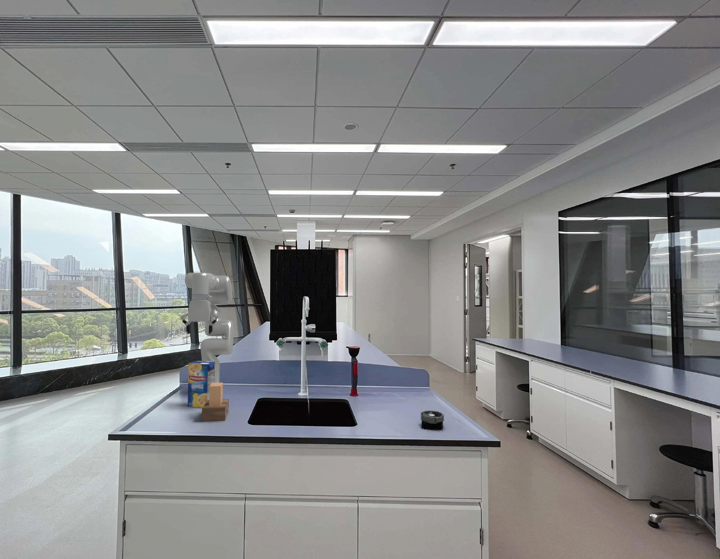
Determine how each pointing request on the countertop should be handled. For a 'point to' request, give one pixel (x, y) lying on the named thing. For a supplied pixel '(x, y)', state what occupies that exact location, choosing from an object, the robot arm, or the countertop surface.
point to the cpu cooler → (432, 419)
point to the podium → (215, 411)
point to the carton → (215, 394)
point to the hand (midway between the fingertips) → (199, 333)
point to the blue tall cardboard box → (200, 382)
